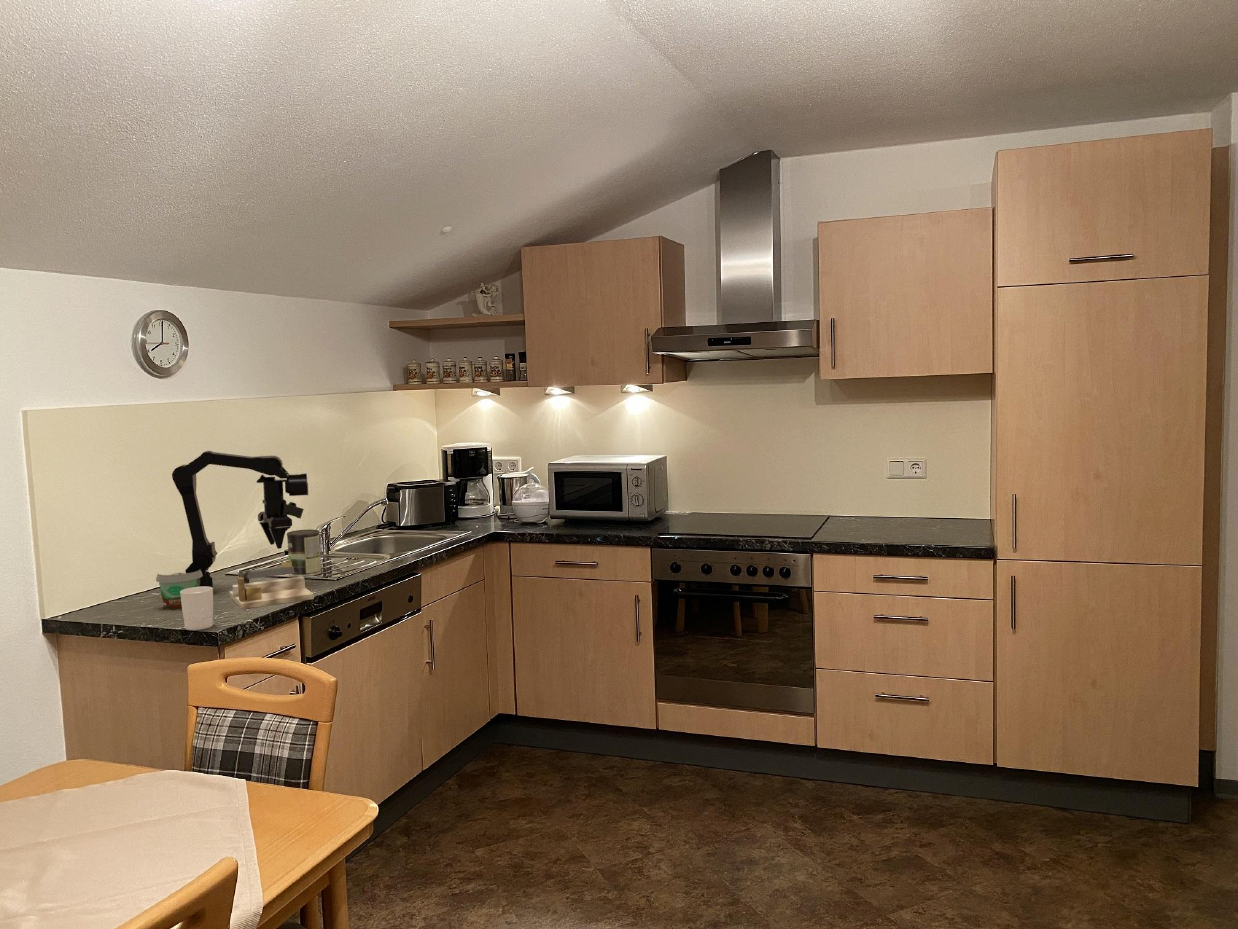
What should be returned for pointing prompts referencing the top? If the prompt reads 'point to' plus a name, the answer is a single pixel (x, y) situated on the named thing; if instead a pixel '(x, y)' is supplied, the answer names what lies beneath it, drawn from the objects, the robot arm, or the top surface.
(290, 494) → the robot arm
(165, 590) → the food container
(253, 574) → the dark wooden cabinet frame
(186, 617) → the white cup
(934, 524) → the top surface
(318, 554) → the coffee can
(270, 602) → the wooden base tray
